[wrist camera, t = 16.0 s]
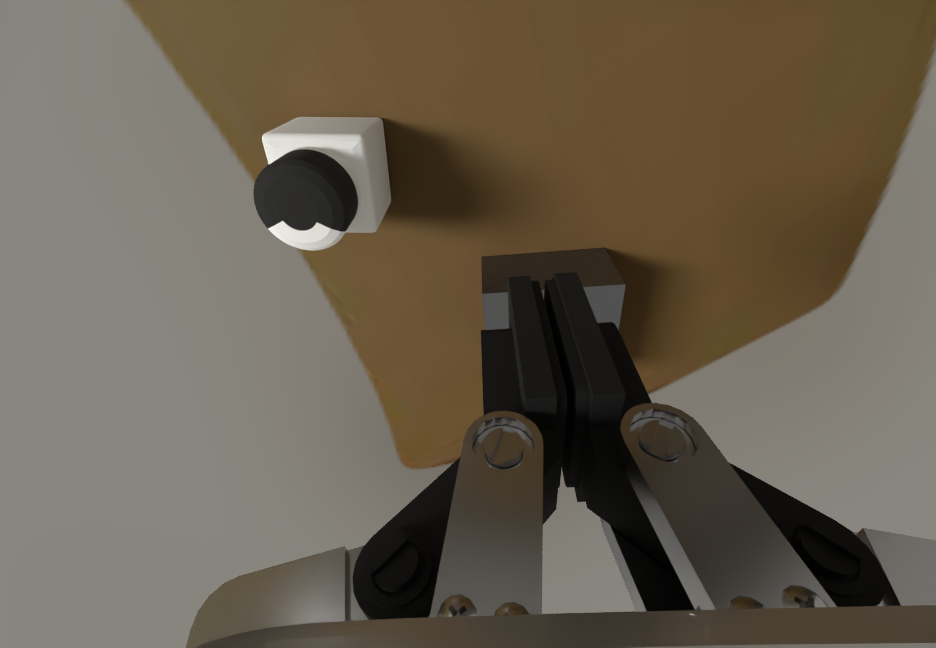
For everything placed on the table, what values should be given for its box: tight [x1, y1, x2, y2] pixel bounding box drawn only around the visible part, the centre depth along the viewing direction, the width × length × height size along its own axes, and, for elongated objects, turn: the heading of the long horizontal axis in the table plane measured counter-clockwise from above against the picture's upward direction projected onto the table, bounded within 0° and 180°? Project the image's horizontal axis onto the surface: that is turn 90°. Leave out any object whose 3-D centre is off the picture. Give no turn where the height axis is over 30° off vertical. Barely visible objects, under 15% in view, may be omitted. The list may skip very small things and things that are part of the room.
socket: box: [482, 248, 626, 331], centre depth 41 cm, size 12×12×7 cm
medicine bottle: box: [254, 117, 391, 250], centre depth 31 cm, size 7×7×12 cm
